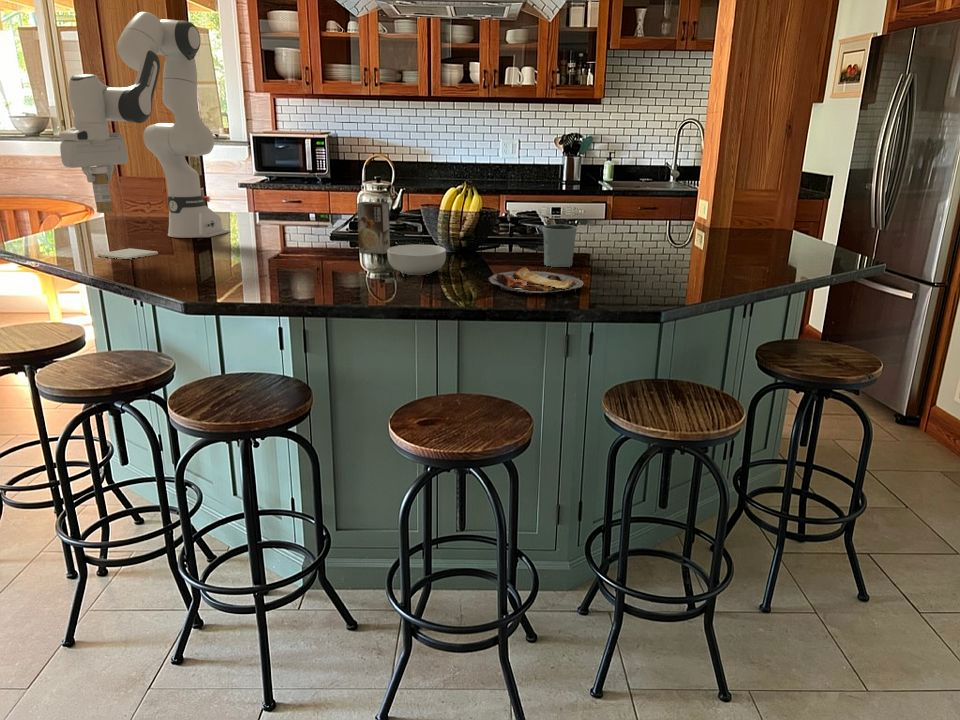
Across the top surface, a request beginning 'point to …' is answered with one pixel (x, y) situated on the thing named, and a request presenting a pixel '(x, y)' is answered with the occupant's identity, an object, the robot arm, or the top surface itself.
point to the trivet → (128, 253)
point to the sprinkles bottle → (101, 189)
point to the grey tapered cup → (559, 245)
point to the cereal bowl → (416, 258)
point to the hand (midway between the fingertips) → (100, 181)
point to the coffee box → (373, 227)
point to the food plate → (534, 281)
